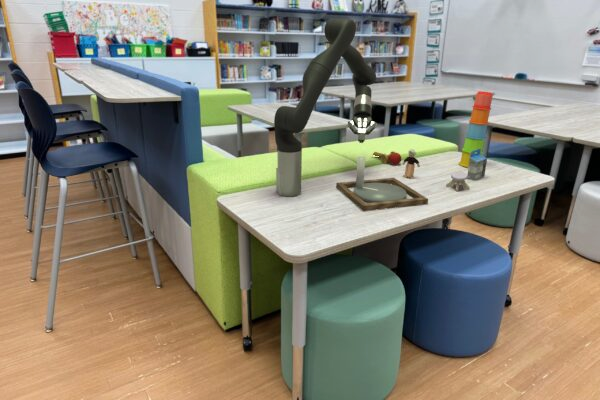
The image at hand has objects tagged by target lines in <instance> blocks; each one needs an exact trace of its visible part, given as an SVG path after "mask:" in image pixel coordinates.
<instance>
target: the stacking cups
mask: <svg viewBox="0 0 600 400" xmlns="http://www.w3.org/2000/svg"><path fill="white" fill-rule="evenodd" d="M493 95H494V94H493V92H491V91H481V90H480V91H479V90H478V91H477V92H476V94H475V98H474V103H473V105H472V109H471V110H472V111H471V114H470V116H471V117H470V118H469V120H468V126H467V132H466V134H465V135H464V136H465V140H464V145H463V148H461V151H462V152H461V157H460V161H459V162H458V165H459V166H461V167H463V168H468V167H469V159H470V154H471V151H474V150H478V149H481V151H480V154H481V155H482V156H483V154H484V144H485V140H486V139H487V137H486V134H487V128H488V125H489V118H490V112H491V110H492V107H491V106H492V101H493ZM476 153H477V152H475V153H474V154H476Z"/></svg>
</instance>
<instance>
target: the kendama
mask: <svg viewBox="0 0 600 400" xmlns="http://www.w3.org/2000/svg"><path fill="white" fill-rule="evenodd" d="M373 155H375V156H379V157H381V158H380V161H381V162H382V164H388V163H389V164H391V165H393V166H397V165H400V163H401V161H402V156H401V154H400V153H398V152H396V151H390V153H388V154H386V153H382V152H378V151H374V152H373V154H372V156H373Z"/></svg>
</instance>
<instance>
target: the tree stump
mask: <svg viewBox="0 0 600 400" xmlns="http://www.w3.org/2000/svg"><path fill="white" fill-rule="evenodd" d="M467 176H468V173H467V172H464V171H462V170H461V171H459V170H458V171H453V172H451V174H450V178H451V179H452V180H451V181H449V182H447V183H445V185H446V188H453V187H454V185H455V184H456V185H455V192H459V188H460V185H461V186H462V189H463V190H466V191H467V190H468V191H469V190H470V186H469V185H468V184H467V183H466V180H468V179H467Z"/></svg>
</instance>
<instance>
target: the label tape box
mask: <svg viewBox="0 0 600 400" xmlns="http://www.w3.org/2000/svg"><path fill="white" fill-rule="evenodd" d="M480 151H481V149H478V150H474V151H471V154H470V159H469V167H467V175H468V176H467V179H466V180H471V181H478V180H479V179H481V178H484V177H485V176H486V175H485V174H486V169H487V160H488V158H486V157H485V156H484V155H483V154H482V155H481V154H480ZM475 152H477V153H476V154H474V153H475Z"/></svg>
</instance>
